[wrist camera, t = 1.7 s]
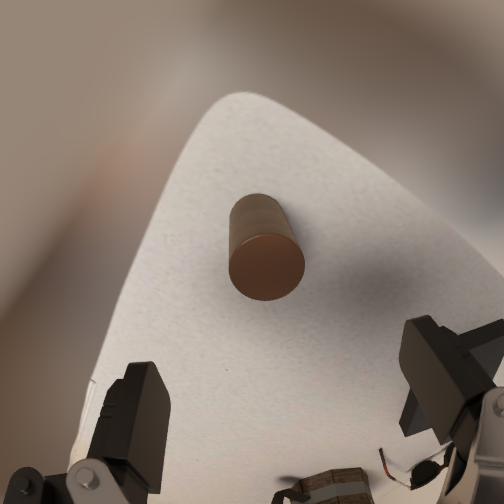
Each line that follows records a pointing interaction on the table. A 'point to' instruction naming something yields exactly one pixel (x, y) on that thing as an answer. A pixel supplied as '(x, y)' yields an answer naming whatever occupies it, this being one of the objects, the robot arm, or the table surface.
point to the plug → (263, 249)
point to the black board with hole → (487, 354)
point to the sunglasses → (423, 469)
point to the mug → (329, 489)
